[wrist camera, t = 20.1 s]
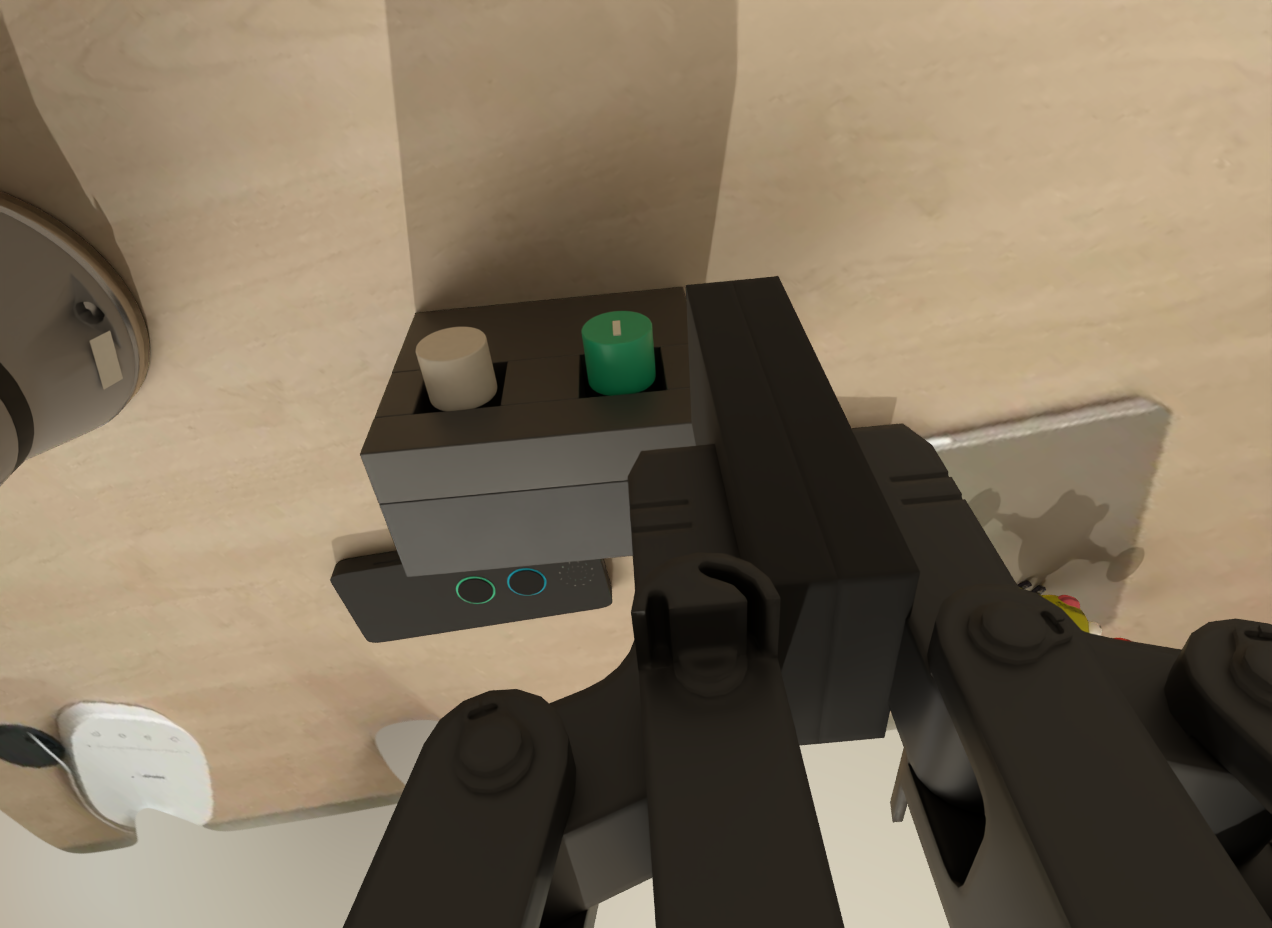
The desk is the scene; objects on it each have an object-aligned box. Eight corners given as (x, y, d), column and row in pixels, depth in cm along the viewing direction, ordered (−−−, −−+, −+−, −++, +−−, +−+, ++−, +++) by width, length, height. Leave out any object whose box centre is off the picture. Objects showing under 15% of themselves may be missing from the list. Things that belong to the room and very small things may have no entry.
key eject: (421, 329, 38) (409, 364, 35) (489, 322, 38) (481, 357, 35) (436, 379, 39) (424, 415, 37) (500, 373, 39) (494, 409, 37)
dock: (415, 312, 45) (359, 454, 34) (683, 286, 45) (714, 420, 34) (446, 422, 50) (406, 577, 39) (688, 399, 50) (717, 548, 39)
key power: (581, 312, 37) (580, 346, 35) (649, 306, 37) (654, 338, 35) (588, 364, 39) (588, 400, 37) (653, 358, 39) (658, 393, 37)
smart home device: (614, 609, 59) (369, 647, 61) (613, 592, 61) (374, 630, 62) (592, 533, 54) (325, 576, 55) (592, 517, 56) (332, 559, 57)
